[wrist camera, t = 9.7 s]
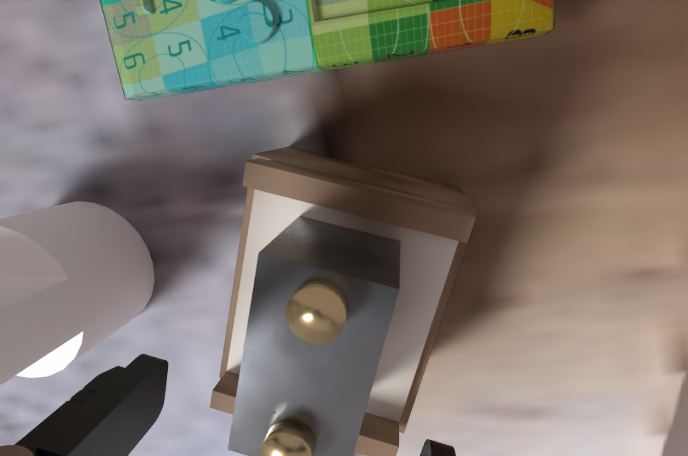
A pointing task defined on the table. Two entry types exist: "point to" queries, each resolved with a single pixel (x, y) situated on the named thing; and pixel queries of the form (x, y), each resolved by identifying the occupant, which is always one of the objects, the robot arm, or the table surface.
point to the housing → (313, 339)
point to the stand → (372, 217)
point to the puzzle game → (295, 36)
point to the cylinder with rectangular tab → (67, 285)
